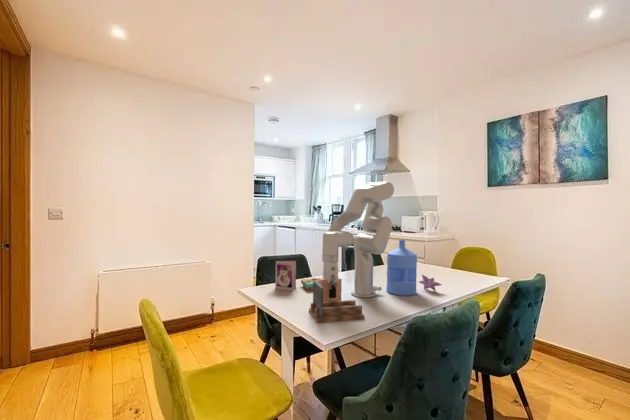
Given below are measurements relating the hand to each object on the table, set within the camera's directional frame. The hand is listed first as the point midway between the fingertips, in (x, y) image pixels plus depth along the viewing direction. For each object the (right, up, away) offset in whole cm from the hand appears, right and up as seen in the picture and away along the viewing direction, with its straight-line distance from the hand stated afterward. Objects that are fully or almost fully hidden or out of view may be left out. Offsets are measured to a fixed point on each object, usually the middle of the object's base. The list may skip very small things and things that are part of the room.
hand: (329, 294), depth 146 cm
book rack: (+2, -5, -15) cm, 16 cm away
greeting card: (-22, -4, +26) cm, 35 cm away
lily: (+56, -5, +25) cm, 61 cm away
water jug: (+40, -5, +22) cm, 46 cm away
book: (0, -4, 0) cm, 4 cm away
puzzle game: (-3, -4, +30) cm, 30 cm away
